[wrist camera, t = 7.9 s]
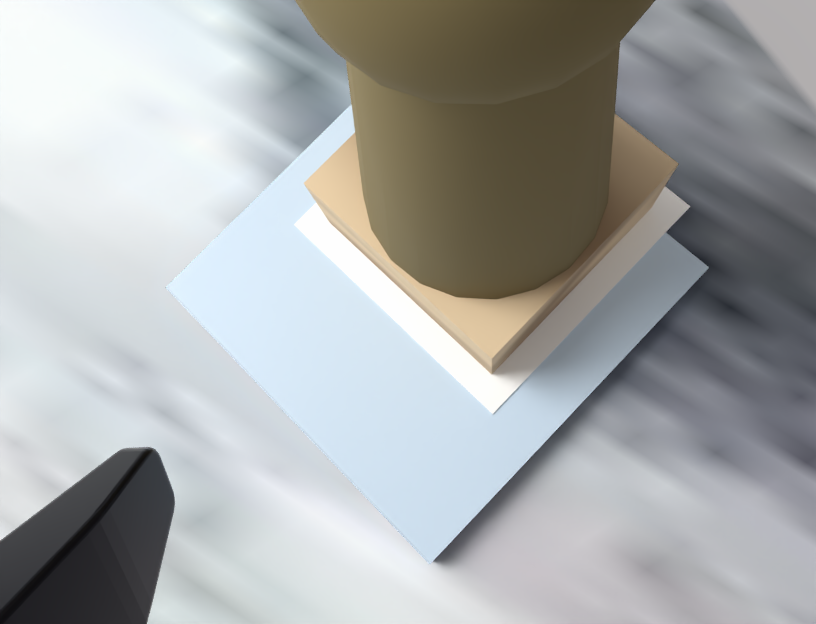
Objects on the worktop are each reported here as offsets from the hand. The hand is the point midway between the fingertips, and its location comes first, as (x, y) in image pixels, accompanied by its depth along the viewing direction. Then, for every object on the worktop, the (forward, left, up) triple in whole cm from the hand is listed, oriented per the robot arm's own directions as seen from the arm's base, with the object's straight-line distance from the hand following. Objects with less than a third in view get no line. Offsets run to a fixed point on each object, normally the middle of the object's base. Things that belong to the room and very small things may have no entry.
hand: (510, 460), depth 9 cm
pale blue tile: (+2, +5, -11) cm, 12 cm away
